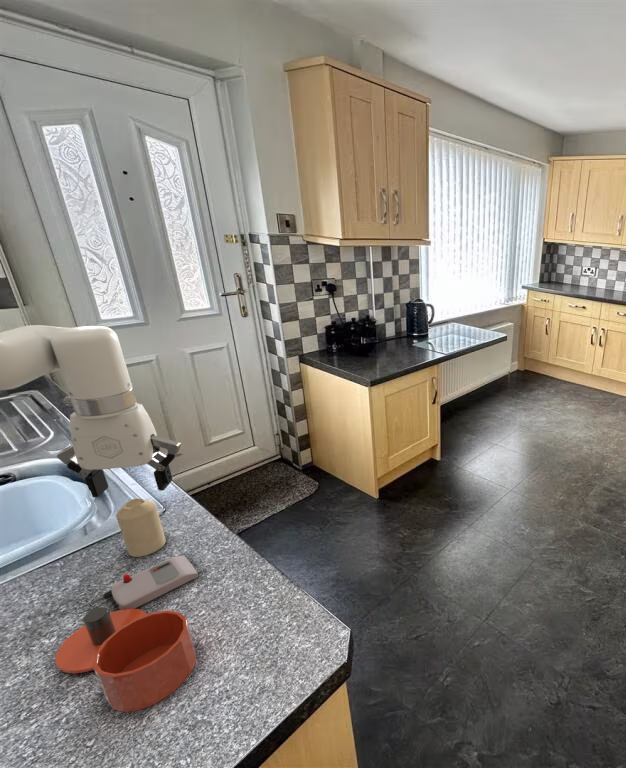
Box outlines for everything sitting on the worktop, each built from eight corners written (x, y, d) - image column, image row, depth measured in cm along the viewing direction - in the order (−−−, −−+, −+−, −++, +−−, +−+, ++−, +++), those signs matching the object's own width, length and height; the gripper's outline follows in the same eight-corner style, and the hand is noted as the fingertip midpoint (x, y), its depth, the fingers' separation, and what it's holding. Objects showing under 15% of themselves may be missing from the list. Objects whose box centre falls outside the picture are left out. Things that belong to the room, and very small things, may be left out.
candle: (171, 544, 81) (159, 500, 77) (135, 561, 76) (120, 516, 73) (158, 533, 83) (146, 490, 80) (123, 549, 79) (108, 504, 75)
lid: (37, 684, 56) (23, 653, 54) (87, 620, 65) (76, 592, 63) (127, 667, 58) (117, 638, 57) (163, 608, 68) (155, 581, 66)
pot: (90, 720, 52) (74, 684, 50) (132, 650, 61) (120, 617, 59) (178, 702, 55) (166, 667, 52) (207, 638, 63) (198, 605, 61)
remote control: (210, 571, 75) (207, 557, 74) (91, 631, 63) (85, 616, 62) (196, 553, 79) (193, 540, 78) (81, 607, 67) (75, 593, 66)
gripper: (21, 414, 64) (59, 508, 70) (155, 407, 68) (180, 495, 74) (57, 396, 71) (88, 483, 77) (177, 390, 75) (198, 473, 81)
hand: (133, 489), depth 75 cm, fingers open, 9 cm apart
